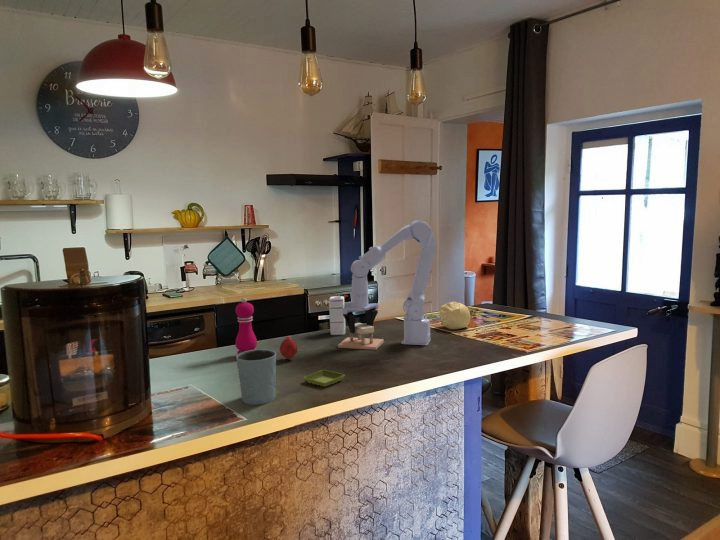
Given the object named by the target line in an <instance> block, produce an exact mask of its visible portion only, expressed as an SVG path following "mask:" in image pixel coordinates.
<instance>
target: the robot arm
mask: <svg viewBox="0 0 720 540" xmlns="http://www.w3.org/2000/svg"><path fill="white" fill-rule="evenodd" d="M433 232H434V231H433V229H432V228H431V226H430V224H429V223H427V222H426V221H424V220H417V219H415V220H413V221H411V222H410V223H409V224H406V225H404V226H403V227H402V228H401V229H399V230H398V231H396V232H395V233H394V234H393V235H392V236H391V237H389V238H388V239H387V240H386V241H385V242H383V244H381V245H379V246H378V245H374V246H370V247H369V248H368V251H367V252H365V253H364V254H362V256H361V255H359V256H358V259H355V260H354V261H353V262H352V263H351V266H350V272H351V273H352V275H351V279H352V280H351V301H352V303H351V304H352V305H350V306H346V307H345V308H342V314H343V316H344V318H345V322H346V324H347V326H348V327H349V330H348V331H349V334H350V333H353V334H355V333H356V332H355V323H356V319H357V315H356V314H354V313H357V312H364V313H365V320H366V325H370V326H373V327H374V322H375V319H376V317H377V316H378V314H379V304H378V303H376V302H375V303H373V302H372V303H369V281H368V274H369V271H370V270H372V269H374V268H375V267H377V265H379V264H380V263H381V262H383V261H384V260H385V259H386V254H387V253H389V252H390V251H391V250H393V249H394V248H395V247H397V246H398V245H399V244H401V243H402V242H403V241H407V240H413V239H414V240H415V241H416V242H417V244H418V245H419V247H420V248H421V250H420V253H419V257H418V261H417V265H416V270H415V272H414V273H415V274H414V277H413V281H412V285H411V289H410V291H409V293H408V294H407V295H408V296H407V299H405V301H404V302H403V305H402V307H403V308H402V309H403V311H404V313H405V314H404V316H403V335H404V336H403V340H402V341H401V345H411V346H412V345H413V346H417V345H418V346H419V345H420V346H428V345H429V344H430V342H431V340H432V339H431V320H430V318H425V316H424V315H425V312H426V309H425V302H426V301H425V293H426V289H427V285H428V282H429V277H430V273H431V271H432V270H431V269H432V266H433V263H434V258H435V253H436V252H437V251H436V249H437V243H436V240H435V236H434V233H433Z"/></svg>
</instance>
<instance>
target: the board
mask: <svg viewBox="0 0 720 540" xmlns="http://www.w3.org/2000/svg"><path fill="white" fill-rule="evenodd" d="M384 342H385V340H384V339H383V338H373V343H372V344H370V337H368V338H367V337H365V345H361V340H358V337H353V341H350V336H349V337H345V338H344V339H343V340H342V341H341V342H339V344H337V348H338V349H339V348H341V349H356V350H357V349H358V350H359V349H360V350H374V351H375V350H377V349H378V348H379V347H380V346H381V345H383V343H384Z"/></svg>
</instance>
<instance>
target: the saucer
mask: <svg viewBox="0 0 720 540" xmlns="http://www.w3.org/2000/svg"><path fill="white" fill-rule="evenodd" d="M344 377H345V374H343V373H340V372H336V371H331V370H327V369H321V370H318V371H316V372H313V373H310V374H309V375H305V376H303V379H304V381H305V382H307V383H309V384H311V383H312V385H315V384H316V385H315V386H319V385H320V387H323V386H324V387H323V388H326V386H327V387H329V386H331V384H332V385H333V384H336V383H339V382H341V381H342V380H343V379H344ZM338 381H339V382H338Z"/></svg>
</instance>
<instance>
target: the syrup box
mask: <svg viewBox="0 0 720 540" xmlns="http://www.w3.org/2000/svg"><path fill="white" fill-rule="evenodd" d="M328 303H329V304H328V305H329V307H328V308H329V326H330V327H329V328H330V335H331V336H342V335H343V336H344V335H345V334H346V330H347V329H346V328H347V326H346V319H345V318H344V316H343V314H342V308H345V304H346V303H345V296H344V295H336V296H335V295H334V296H330V297H329V298H328Z"/></svg>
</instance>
